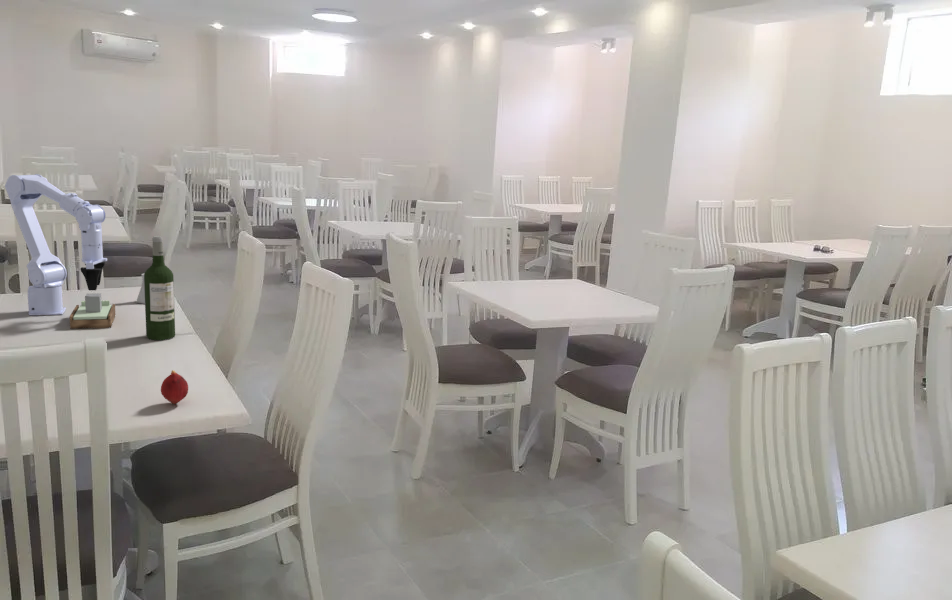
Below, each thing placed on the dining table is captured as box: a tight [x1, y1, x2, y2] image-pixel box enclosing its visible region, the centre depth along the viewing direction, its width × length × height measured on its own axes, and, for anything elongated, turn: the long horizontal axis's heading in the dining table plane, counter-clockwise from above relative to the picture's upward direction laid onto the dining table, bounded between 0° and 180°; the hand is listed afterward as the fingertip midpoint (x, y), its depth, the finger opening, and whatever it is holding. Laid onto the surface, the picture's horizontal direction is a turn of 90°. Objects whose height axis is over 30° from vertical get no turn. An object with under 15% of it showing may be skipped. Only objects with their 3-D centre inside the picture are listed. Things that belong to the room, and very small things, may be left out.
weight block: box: [84, 292, 103, 313], centre depth 228 cm, size 4×4×5 cm
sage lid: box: [73, 299, 113, 320], centre depth 229 cm, size 9×15×2 cm, turn 21°
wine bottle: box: [143, 235, 176, 341], centre depth 215 cm, size 8×8×30 cm
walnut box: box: [69, 303, 116, 330], centre depth 229 cm, size 11×15×4 cm
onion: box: [160, 370, 189, 405], centre depth 168 cm, size 6×6×8 cm
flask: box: [136, 273, 145, 305], centre depth 257 cm, size 7×7×10 cm
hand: (94, 287), depth 230 cm, fingers open, 7 cm apart
